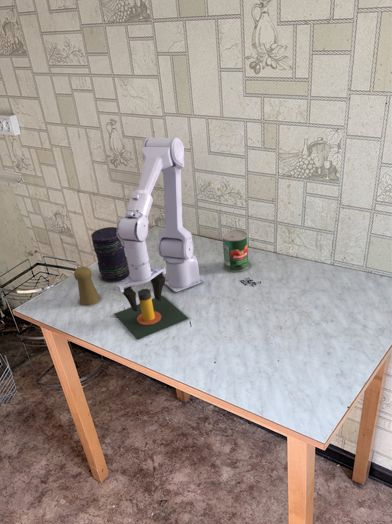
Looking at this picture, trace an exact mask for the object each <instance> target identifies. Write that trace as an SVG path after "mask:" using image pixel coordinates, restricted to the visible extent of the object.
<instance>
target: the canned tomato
mask: <svg viewBox="0 0 392 524" xmlns="http://www.w3.org/2000/svg"><path fill="white" fill-rule="evenodd" d="M221 238H222V250H223V265H224V269H225V270H226V271H228V272H231V273H232V272H233V273H238V272H243V271H245V270H247V269H248V268H249V266H250V265H249V248H248V247H249V245H248V233H247V232H246V231H244V230H241V229H232V230H228V231H225V232H223V234H222V235H221Z"/></svg>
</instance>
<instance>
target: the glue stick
mask: <svg viewBox="0 0 392 524" xmlns="http://www.w3.org/2000/svg"><path fill="white" fill-rule="evenodd" d="M137 296H138V300H139V304H140V306H141V311H142V316H143V320H145V321H150V320H153V319H154V318H155V316H154V310H153V305H152V299H153V298H152V293H151V289H148V288H142V289H139V290H138V291H137Z"/></svg>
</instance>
